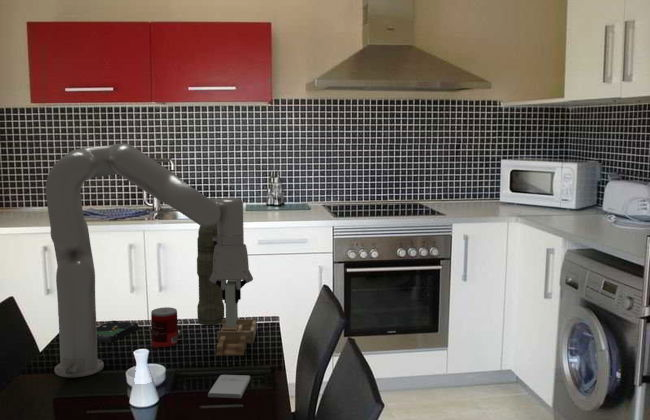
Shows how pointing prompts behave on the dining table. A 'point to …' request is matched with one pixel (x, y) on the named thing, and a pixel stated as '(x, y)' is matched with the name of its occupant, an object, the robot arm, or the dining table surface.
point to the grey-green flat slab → (231, 303)
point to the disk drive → (115, 331)
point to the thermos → (209, 292)
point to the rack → (240, 331)
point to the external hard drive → (229, 386)
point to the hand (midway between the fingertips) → (231, 301)
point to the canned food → (164, 327)
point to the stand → (231, 347)
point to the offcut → (228, 328)
